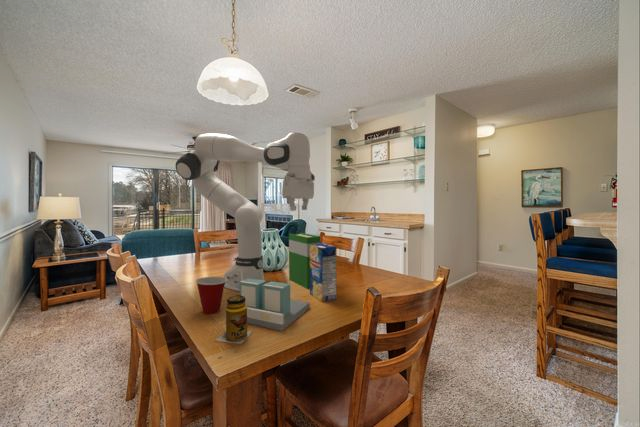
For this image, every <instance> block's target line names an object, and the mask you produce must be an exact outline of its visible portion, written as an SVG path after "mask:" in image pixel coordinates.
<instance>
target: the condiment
mask: <svg viewBox="0 0 640 427" xmlns="http://www.w3.org/2000/svg"><path fill="white" fill-rule="evenodd" d="M226 301H227V302H226V308H225V328H226V330H225V331H224V332H223V333H221V335H220V336H219V337H218V338H217V339H216V340H215V342H222V343H229V344H239V345H240V344H241V345H242V344H243V343H245V341H246V340H247V339H248V338H249V337H250V335H251V334H252V333H253V330H248V323H247V306H246V305H245V304H246V302H245V297H244V296H241V295H239V294H237V295H231V296H229V297H228V298H227V299H226Z"/></svg>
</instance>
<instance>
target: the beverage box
mask: <svg viewBox="0 0 640 427" xmlns="http://www.w3.org/2000/svg"><path fill="white" fill-rule="evenodd" d="M337 249H338V248H337V246H335V245H332V244H328V243H324V242H320V243H319V244H310V289H309V294H310V295H311V296H312V297H314V298H315V299H317V300H318V301H319V302H321V303H325V302H330V301H334V300H337V256H338V253H337V251H338V250H337Z"/></svg>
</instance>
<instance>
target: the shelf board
mask: <svg viewBox="0 0 640 427" xmlns="http://www.w3.org/2000/svg"><path fill="white" fill-rule="evenodd" d="M310 306H311V305H310V301H302V300H297V299H296V300H295V299H291V298H290V313H289V314H288V315H287V316H285V317H284V318H283V314H280V313H275V312H270V311H265V310H260V309H255V308H250V307H247V324H250V325H254V326H258V327H262V328H268V329H271V330H276V331H281V332H282V331H284V330H285V329H286V328H287V327H288V326H290V325H291V324H292V323H293V322H294V321H295V320H297V319H298V318H299V317H300V316H302V315H303V314H304V313H305V312H306V311H308V310H309V309H310Z"/></svg>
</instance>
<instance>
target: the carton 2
mask: <svg viewBox="0 0 640 427" xmlns="http://www.w3.org/2000/svg"><path fill="white" fill-rule="evenodd" d="M262 294H263V310H265V311H270V312H275V313H280V314H283V318H284V317H285V316H287V315H288V314H289V313H290V299H291V284H290V283H286V282H285V283H283V282H277V281H268V282H266V284H264V285H262Z"/></svg>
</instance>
